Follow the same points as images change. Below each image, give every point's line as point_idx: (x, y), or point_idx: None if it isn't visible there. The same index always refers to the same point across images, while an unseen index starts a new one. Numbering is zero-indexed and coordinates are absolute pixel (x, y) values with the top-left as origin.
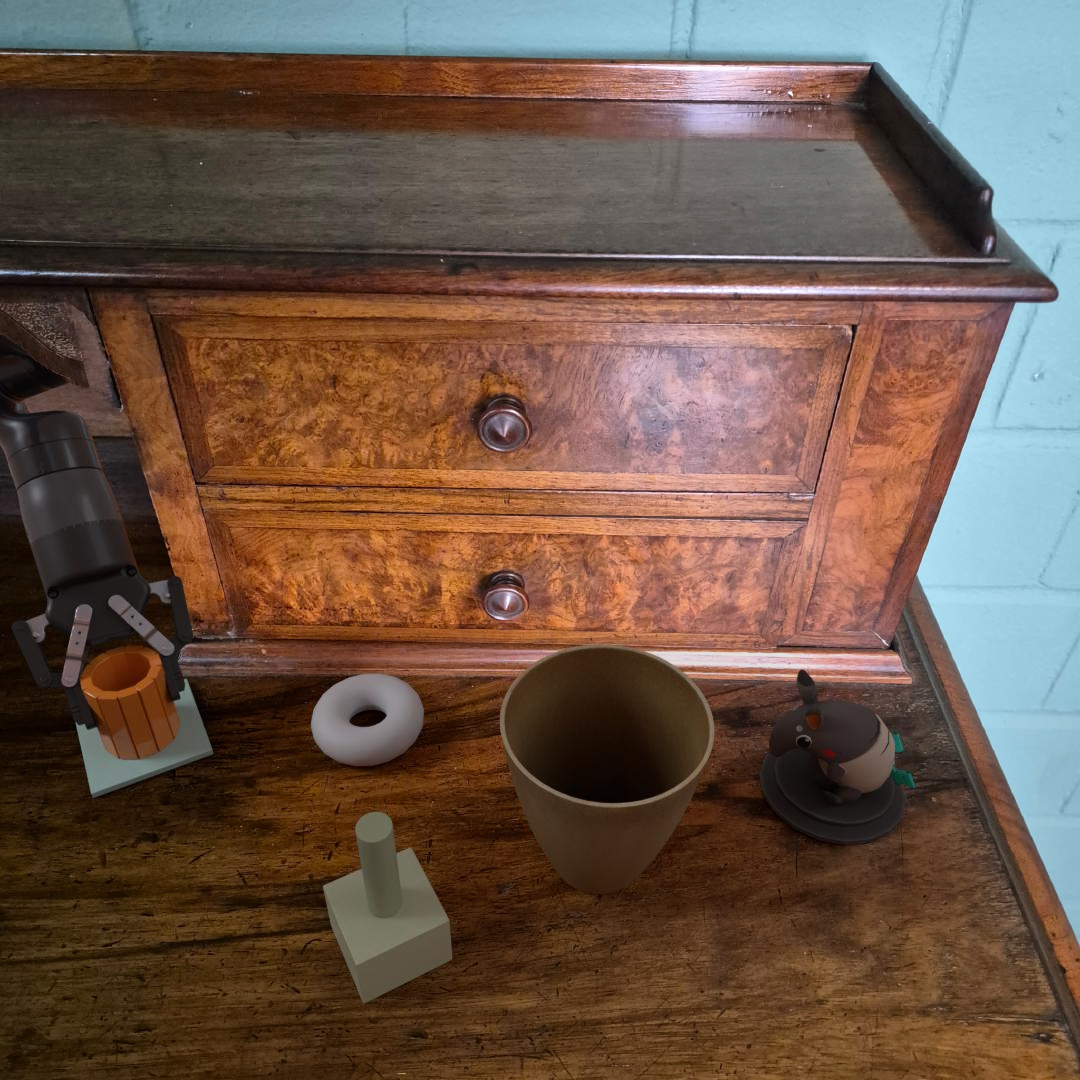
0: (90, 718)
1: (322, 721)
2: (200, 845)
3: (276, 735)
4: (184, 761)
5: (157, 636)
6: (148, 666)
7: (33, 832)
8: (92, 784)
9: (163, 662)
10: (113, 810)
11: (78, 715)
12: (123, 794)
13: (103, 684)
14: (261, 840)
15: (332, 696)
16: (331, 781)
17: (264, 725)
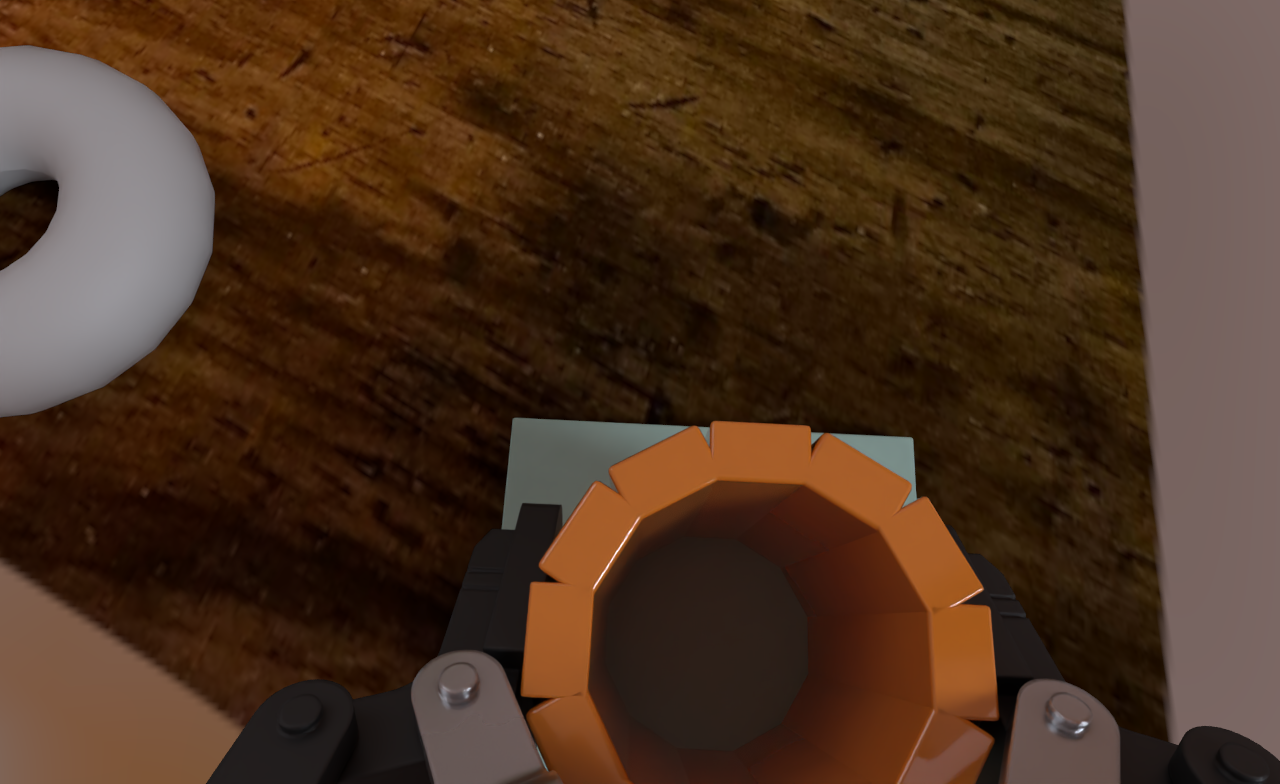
0: None
1: (124, 206)
2: (656, 132)
3: (307, 396)
4: (610, 422)
5: (468, 773)
6: (602, 705)
7: (1083, 405)
8: (905, 475)
9: (518, 634)
10: (852, 365)
11: (984, 581)
12: (815, 410)
13: (845, 762)
14: (511, 72)
15: (16, 290)
16: (261, 148)
17: (319, 461)
